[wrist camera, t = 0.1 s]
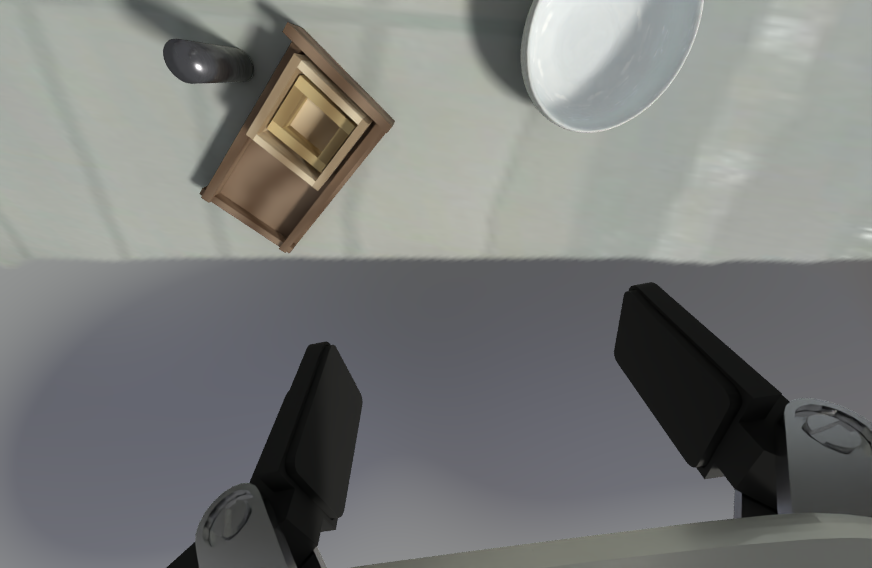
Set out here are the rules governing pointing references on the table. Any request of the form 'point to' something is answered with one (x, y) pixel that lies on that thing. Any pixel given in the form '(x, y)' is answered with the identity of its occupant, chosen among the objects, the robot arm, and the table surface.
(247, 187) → the tray
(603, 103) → the cereal bowl
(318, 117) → the crate
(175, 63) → the handle peg
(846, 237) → the table surface
